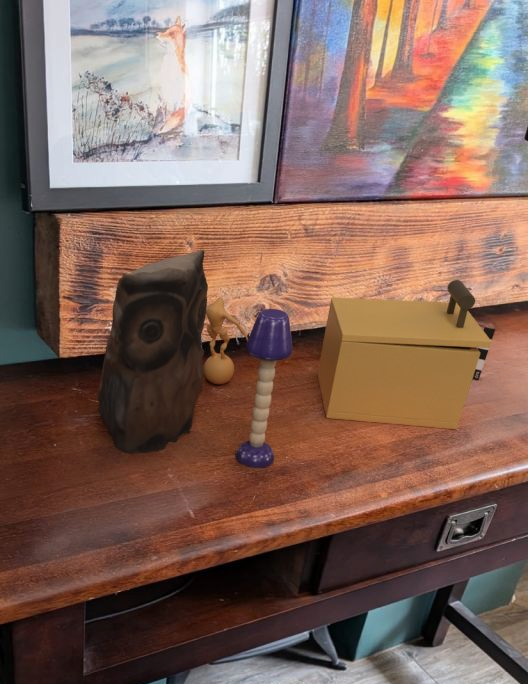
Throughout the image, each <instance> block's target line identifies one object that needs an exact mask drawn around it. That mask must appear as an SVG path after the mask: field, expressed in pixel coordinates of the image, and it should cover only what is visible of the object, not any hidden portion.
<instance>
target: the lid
mask: <svg viewBox="0 0 528 684" xmlns="http://www.w3.org/2000/svg"><path fill="white" fill-rule="evenodd" d="M446 290H447V293H448V294H449V295H450V296H449V300H448V302H447V301H423V300H400V299H378V298H377V299H375V298H356V297H354V298H353V297H352V298H351V297H331V298H330V304H331V307H332V310H333V313H334V317H335V320H336V323H337V327H338V330H339V333H340V337H341V340H342V341H353V342H374V343H395V344H417V345H438V346H459V347H477V348H478V347H481V348H489V349H490V348H491V345H492V341H491V340H490V339H489V338H488V336H487V335H486V334H485V332H484V331H483V330H484V329H482V327H481V325H480V324H479V323H478V322H477V320H476V319H475V318H474V316H473V315H472V313H470V311H469V310H470V309H472V308H473V307H474V306H475V303H476V298H475V296H474V295H473V294H472V293H471V292H470V290H469V289H468V288H467V286H466V285H465V284H464V283H463V282H462V281H461V280H460V279H453V280H452V281H450V282H449V283H448V285H447V289H446Z"/></svg>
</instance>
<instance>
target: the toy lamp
mask: <svg viewBox="0 0 528 684" xmlns="http://www.w3.org/2000/svg"><path fill="white" fill-rule="evenodd" d="M245 349H246V352H247V353H248V354H249V355H250V356H252V357H253V358H256V359H259V365H260V366H259V367H258V370H257V378H258V379H257V381H256V386H255V390H256V394H255V395H254V399H253V400H254V402H253V403H254V406H253V408H252V412H251V414H252V415H251V416H252V420H251V422H250V433H249V434H248V440H245V441H244V442H243V443H241V444H240V445H239V446H238V448H237V450H236V453H235V459H236V461H238V462H239V463H240V464H242V465H244V466H246V467H250V468H258V469H259V468H260V469H261V468H266V467H269V466H271V465H272V464H273V463H274V461H275V454H274V450H273V449H272V447H271V445H270V444H269V443H267V442H265V441H266V432H267V429H268V418H269V417H270V406H271V403H272V392H273V389H274V381H273V380H274V378H275V376H276V365H277V363H278V361H283V360H286V359H289V357H291V355H292V353H293V339H292V330H291V322H290V317H289V315H288V313H287V312H286V311H284V310H282V309H278V308H266V309H263V310H262V309H261V310H260V311H259V313H258V314H257V316H256V318H255V321H254V323H253V326H252V328H251V331H250V333H249V336H248V341H247V340H246V345H245Z"/></svg>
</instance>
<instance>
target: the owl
mask: <svg viewBox="0 0 528 684" xmlns="http://www.w3.org/2000/svg"><path fill="white" fill-rule="evenodd" d="M204 258H205V249H200V250H197V251H193V252H189V253H186V254H183V255H179V256H173V257H168V258H164V259H160V260H158V261H155V262H150V263H147V264H144V265H143V266H141V267H139V268H137V269H135V270H133V271H132V272H130V273H127V272H125V273H122V276H121V277H120V278H119V279H118V281H117V284H116V290H115V297H114V301H113V305H112V322H111V328H110V332H109V336H108V339H107V342H106V345H105V351H104V358H103V364H102V370H101V376H100V381H99V387H98V391H97V397H96V399H97V401H98V404H99V405H98V408H97V411H98V412H99V414H100V416H101V417H102V419H103V424H104V425H105V426H106V427H107V433H108V434H109V435H110V436H111V437H112V438H113V445H114V447H115V448H117V449H119V450H120V451H122V452H123V453H127V454H131V455H132V454H134V455H135V454H139V453H141V454H146V453H151V452H152V453H153V452H159V451H163V450H164V449H165V448H166V447H167V445H168V443H176V442H178V440H179V438H180V437H182V436H183V435H189V434H190V433H191V430H192V427H193V426H192V425H193V419H194V413H195V409H196V405H197V402H198V399H199V397H200V394H201V392H202V390H203V381H204V376H205V374H204V371H205V369H204V365H205V364H204V362H203V357H204V355H205V349H203V347H202V334H203V330H204V327H205V321H206V317H207V315H206V307H208V296H207V295H208V289H209V284H208V281H207V278H206V274H205V271H204V260H205V259H204Z"/></svg>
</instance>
